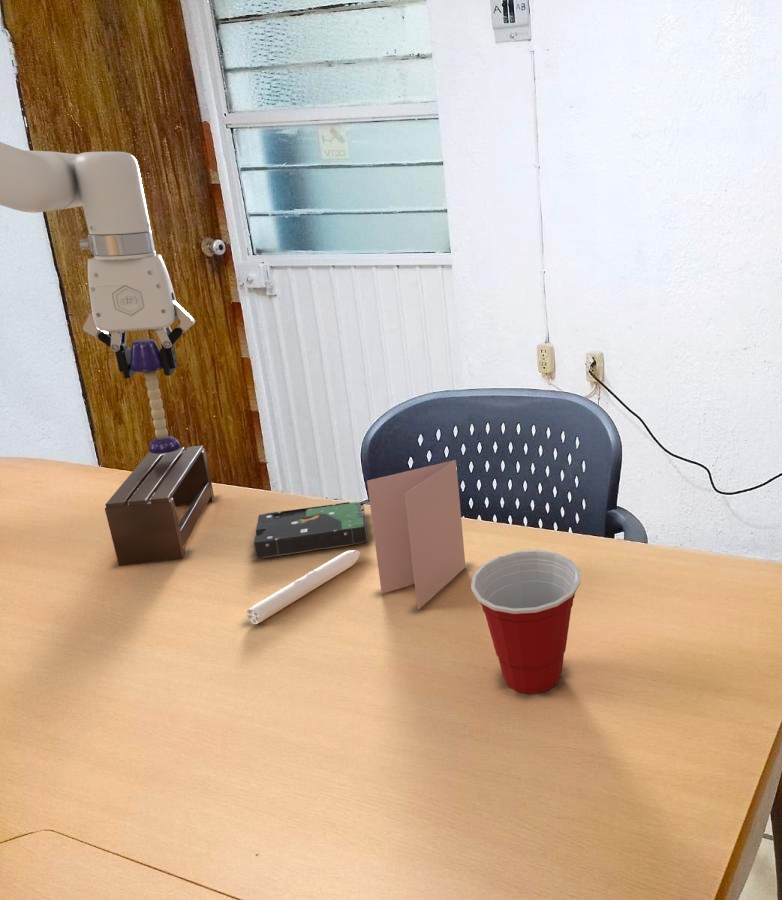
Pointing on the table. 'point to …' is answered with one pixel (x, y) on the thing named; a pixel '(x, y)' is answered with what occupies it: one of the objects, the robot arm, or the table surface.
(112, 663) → the table surface
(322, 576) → the marker
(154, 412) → the toy lamp
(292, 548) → the disk drive
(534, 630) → the plastic cup
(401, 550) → the greeting card
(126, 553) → the bench
